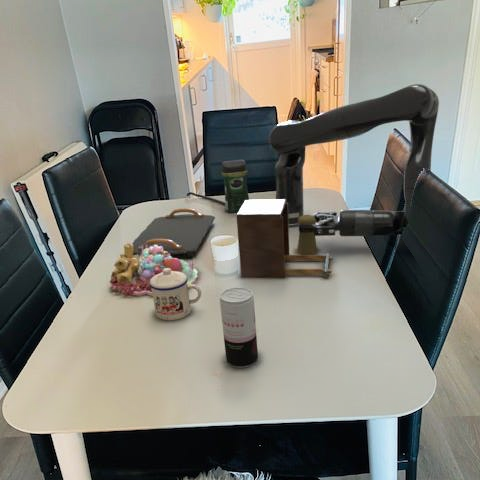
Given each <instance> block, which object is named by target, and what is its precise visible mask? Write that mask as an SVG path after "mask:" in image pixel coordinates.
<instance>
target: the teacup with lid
mask: <svg viewBox="0 0 480 480" xmlns="http://www.w3.org/2000/svg"><path fill="white" fill-rule="evenodd" d="M187 281H188V279H187V276H186V275H185V274H184V273H181V272H177V271H171V269H170V268H164V269H163V272H162V273H160V274H157V275H155V276H154V277H152V279H151V280H150V287H151V289H152V294H153V296H152V299H153V306H154V310H155V315H156V317H157V318H158V319H160V320H164V321H176V320H181V319H183V318H185V317H187V316H188V315H189V314H190V312H191V310H192V308H191V305H193V304H196V303H198V302H199V301H200V299H201V297H202V290H201V288H200V286H198V285H197V284H195V283H194V284H187ZM188 288H189V289H194V290H196V292H197V297H195V298H194V299H190V294H189V293H190V291H189V289H188Z"/></svg>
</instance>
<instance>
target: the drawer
mask: <svg viewBox="0 0 480 480" xmlns="http://www.w3.org/2000/svg"><path fill="white" fill-rule="evenodd" d="M333 260H334V259H333V256H330V252H327V253H325V254H310V255H303V254H290V255H284V263H285V264H286V262H325V264H324V268H285V276H324V278H328V275H329V274H332V269H329V265H330V261H333Z"/></svg>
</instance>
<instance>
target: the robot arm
mask: <svg viewBox="0 0 480 480" xmlns="http://www.w3.org/2000/svg"><path fill="white" fill-rule="evenodd" d="M439 107H440V100H439V96H438V95H437V93H436V92H435V91H434V90H433V89H431V88H430V87H429V86H427V85H425V84H421V83H414V84H411V85H407V86H405V87H402V88H399V89H397V90H395V91H393V92H389V93H387V94H385V95H383V96H380V97H376V98H371V99H367V100H362V101H358V102H355V103H350V104H345V105H342V106H338V107H336V108H333V109H330V110H327V111H325V112H322V113H320V114H318V115H315V116H313V117H310V118H308V119H305V120H302V121H297V120H288V121H285V122H281V123H279V124H277V125H276V126H274V127H273V128H272V129H271V131H270V132H269V135H268V145H269V147H270V148H271V149H272V150H273V151H274V152H275V153H277V154H280V156H279V159H278V161H277V162H276V163H275V167H274V169H275V170H274V174H275V175H274V176H275V199H286V203H288V221H289V227H295V226H298V233H299V232H300V233H307V232H312V233H313V234H314V236H315V237H325V236H326V237H328V236H329V237H331V236H336V232H339V237H368V236H390V235H399V236H400V235H401V234H402V231H403V227H406V226H407V224H408V220H409V210H410V204H411V199H412V194H413V190H414V186H415V183H416V181H417V178H418V176H419V174H420V173H421V171H423V168H427V169H429V170H430V171H432V153H433V144H434V143H433V142H434V137H435V136H434V135H435V129H436V124H437V119H438V113H439V109H440V108H439ZM397 122H408V123H409V130H410V131H409V132H410V143H409V149H408V154H407V158H406V160H405V165H404V172H403V197H404V198H403V199H404V200H405V203H404V204H405V205H404V206H405V208H404V210H397V211H393V210H387V209H385V210H382V209H380V210H378V209H377V210H369V209H341V210H340V211H339V215H338V213H337V211H317V212H316V213H314V214H311V215H312V216H314V217H315V219H316V223H315V224H313V225H312V224H300V225H298V219H299V217H300V216H302V215H305V214H304V166H305V162H306V147H309V146H312V145H319V144H326V143H333V142H338V141H344V140H348V139H352V138H357V137H359V136H362V135H365V134H366V133H368V132H370V131H372V130H374V129H375V128H377V127H379V126H382V125H386V124H391V123H397ZM190 195H192V196H194V197H197V198H202V199H206V200H210V201H212V202H216V203H218V204H221V205H222V206H223V205H224V206H225V201H222V200H219V199H217V198H213V197H210V196H207V195H202V194H197V193H194V192H193V191H190V192H189V191H188V192H187V193H186V197H189V196H190Z"/></svg>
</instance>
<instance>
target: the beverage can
mask: <svg viewBox="0 0 480 480" xmlns="http://www.w3.org/2000/svg"><path fill="white" fill-rule="evenodd" d="M219 306H220V307H219V308H220V317H221V324H222V333H223V344H224V351H225V360H226V362H227V363H228V365H230V366H232V367H234V368H240V369H241V368H242V369H243V368H248V367H250V366H252V365H254V364H255V363H256V362H257V361H258V359H259V352H258V351H259V350H258V338H257V337H258V336H257V325H256V312H255V297H254V294H253V291H252V290H251V289H249V288H246V287H232V288H227V289H225V290H224V291H222V292H221V293H220V294H219Z"/></svg>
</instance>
